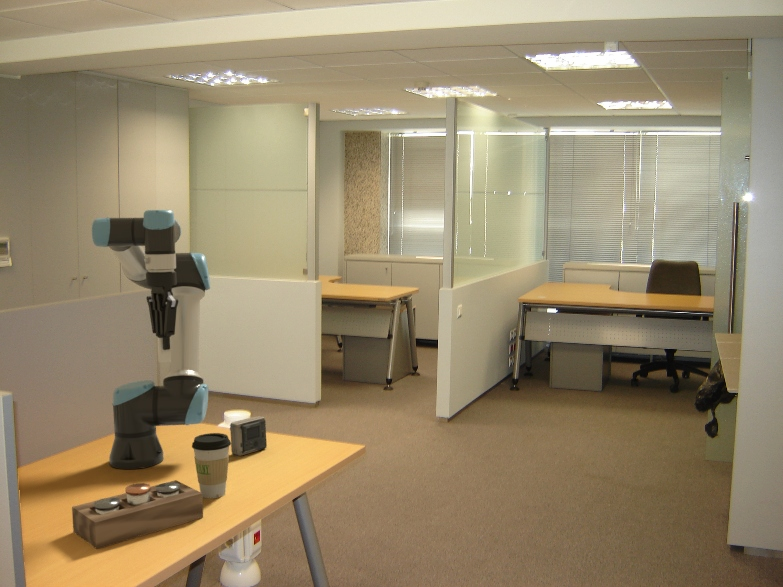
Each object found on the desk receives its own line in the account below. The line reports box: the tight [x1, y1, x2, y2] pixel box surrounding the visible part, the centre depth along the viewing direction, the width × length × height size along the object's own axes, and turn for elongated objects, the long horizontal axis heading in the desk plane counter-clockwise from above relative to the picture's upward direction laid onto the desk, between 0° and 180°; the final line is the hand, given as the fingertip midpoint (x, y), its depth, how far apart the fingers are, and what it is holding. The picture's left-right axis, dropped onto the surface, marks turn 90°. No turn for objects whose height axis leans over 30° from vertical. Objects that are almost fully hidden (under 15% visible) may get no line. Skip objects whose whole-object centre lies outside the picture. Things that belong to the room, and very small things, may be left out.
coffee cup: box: [191, 432, 231, 499], centre depth 209 cm, size 10×10×15 cm
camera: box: [229, 415, 268, 457], centre depth 245 cm, size 11×6×10 cm, turn 136°
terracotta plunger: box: [124, 482, 151, 506], centre depth 189 cm, size 6×6×7 cm
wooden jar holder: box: [71, 479, 204, 550], centre depth 189 cm, size 13×26×6 cm, turn 133°
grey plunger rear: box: [156, 481, 180, 498], centre depth 194 cm, size 6×6×7 cm
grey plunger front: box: [94, 497, 120, 515], centre depth 184 cm, size 6×6×7 cm
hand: (164, 361), depth 208 cm, fingers closed
